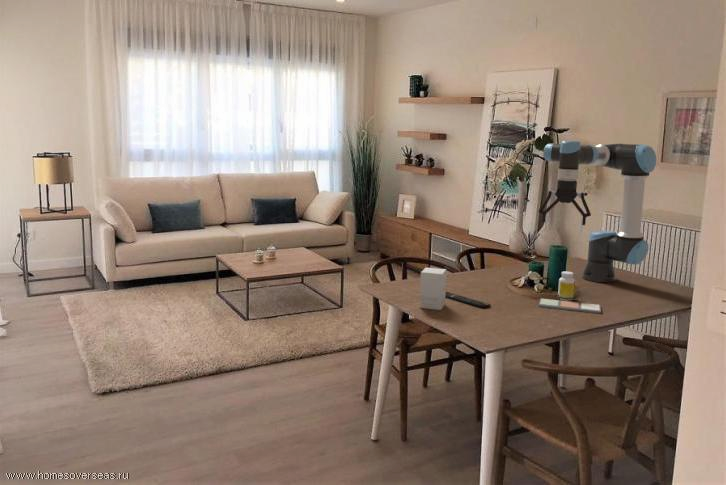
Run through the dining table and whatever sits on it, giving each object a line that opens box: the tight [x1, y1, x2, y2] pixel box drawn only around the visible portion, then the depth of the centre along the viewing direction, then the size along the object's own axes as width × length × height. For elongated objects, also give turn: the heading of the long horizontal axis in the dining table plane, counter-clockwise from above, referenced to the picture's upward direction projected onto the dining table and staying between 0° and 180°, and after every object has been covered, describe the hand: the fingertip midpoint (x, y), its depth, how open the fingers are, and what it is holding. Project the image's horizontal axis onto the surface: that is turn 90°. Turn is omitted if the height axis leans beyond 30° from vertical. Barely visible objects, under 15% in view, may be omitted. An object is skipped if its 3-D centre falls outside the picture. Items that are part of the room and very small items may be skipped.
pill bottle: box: [557, 271, 576, 302], centre depth 272 cm, size 6×6×12 cm
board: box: [538, 297, 602, 315], centre depth 262 cm, size 10×24×1 cm, turn 71°
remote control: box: [445, 291, 492, 310], centre depth 267 cm, size 5×24×1 cm, turn 42°
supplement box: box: [419, 267, 447, 311], centre depth 258 cm, size 9×9×15 cm
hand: (562, 231), depth 261 cm, fingers open, 13 cm apart
